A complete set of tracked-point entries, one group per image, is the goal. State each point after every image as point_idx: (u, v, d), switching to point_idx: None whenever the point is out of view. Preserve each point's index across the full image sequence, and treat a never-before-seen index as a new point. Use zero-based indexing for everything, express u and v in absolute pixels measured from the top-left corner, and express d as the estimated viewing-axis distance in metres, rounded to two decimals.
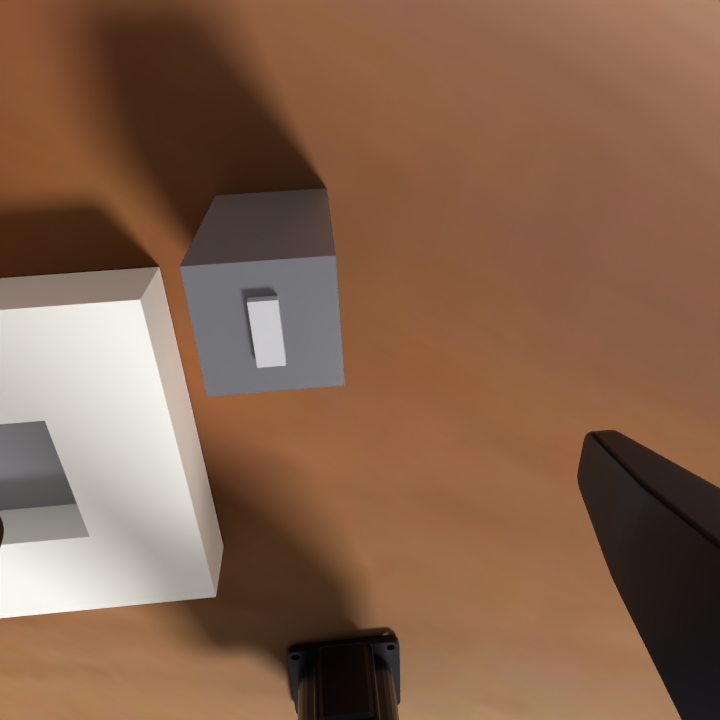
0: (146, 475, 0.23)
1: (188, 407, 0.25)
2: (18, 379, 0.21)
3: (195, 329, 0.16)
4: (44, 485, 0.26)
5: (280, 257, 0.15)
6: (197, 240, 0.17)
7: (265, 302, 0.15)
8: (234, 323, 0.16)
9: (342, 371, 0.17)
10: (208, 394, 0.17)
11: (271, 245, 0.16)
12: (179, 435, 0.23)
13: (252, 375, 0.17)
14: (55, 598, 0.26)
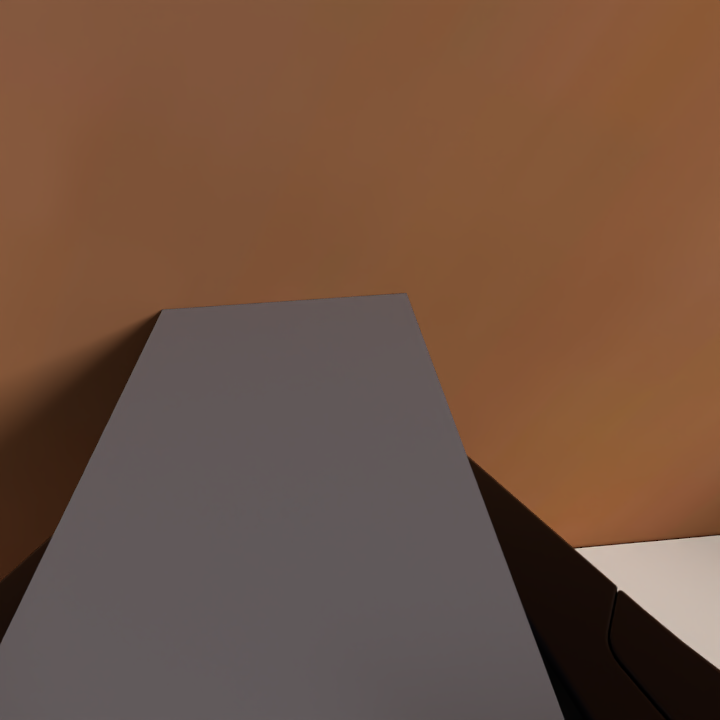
0: None
1: (619, 561, 0.13)
2: None
3: None
4: None
5: None
6: None
7: None
8: None
9: None
10: None
11: None
12: None
13: None
14: None
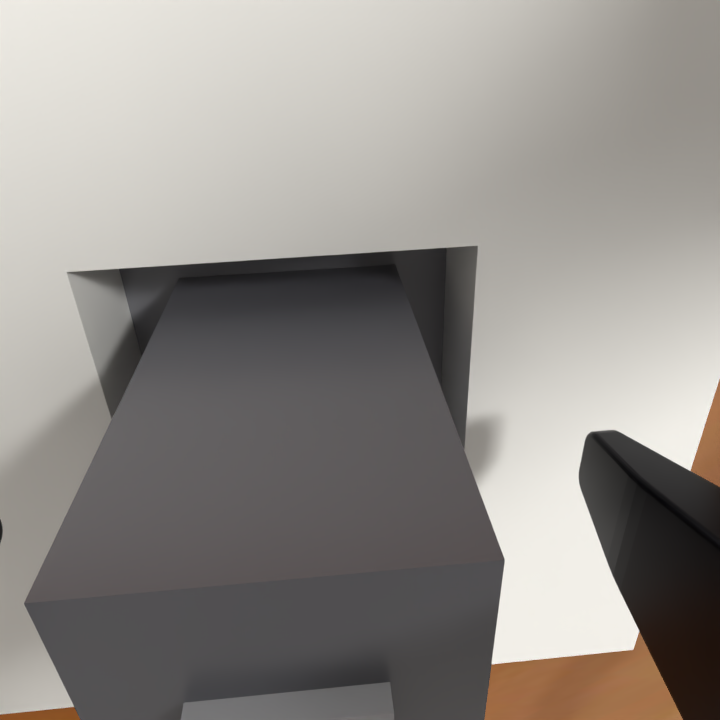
0: (248, 21, 0.07)
1: None
2: None
3: None
4: None
5: (78, 687, 0.06)
6: None
7: None
8: None
9: (450, 565, 0.05)
10: None
11: None
12: None
13: None
14: (671, 369, 0.10)
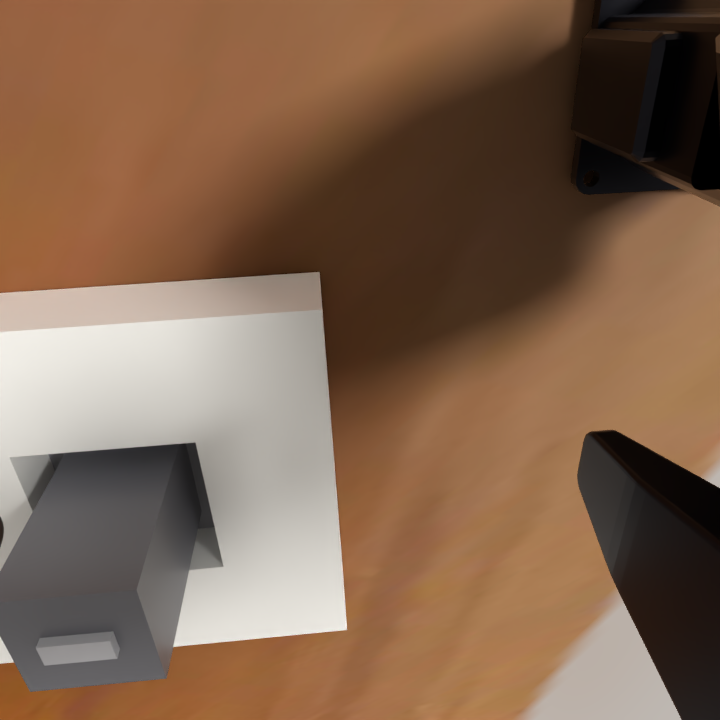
0: (77, 371, 0.18)
1: (47, 295, 0.19)
2: None
3: (91, 685, 0.18)
4: None
5: (3, 632, 0.16)
6: None
7: (40, 655, 0.16)
8: (79, 663, 0.17)
9: (119, 591, 0.16)
10: (164, 677, 0.18)
11: None
12: (20, 322, 0.17)
13: (135, 651, 0.17)
14: (309, 489, 0.21)
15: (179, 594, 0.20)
